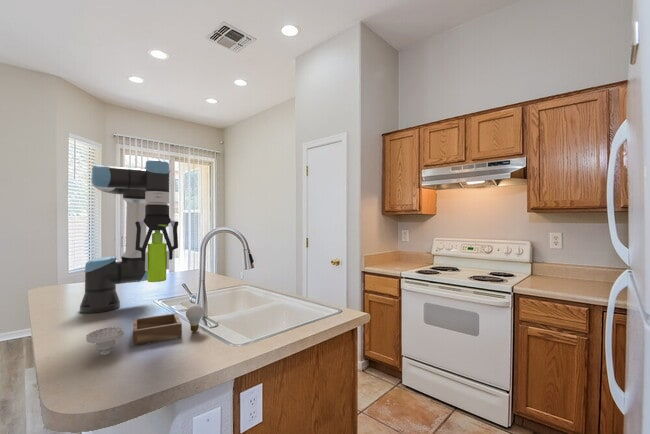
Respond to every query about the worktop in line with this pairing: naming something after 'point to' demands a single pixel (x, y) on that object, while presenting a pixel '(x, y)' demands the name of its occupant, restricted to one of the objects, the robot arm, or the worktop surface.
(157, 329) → the wooden box
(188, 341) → the worktop surface
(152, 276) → the soap dispenser
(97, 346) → the showerhead
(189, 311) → the light bulb
